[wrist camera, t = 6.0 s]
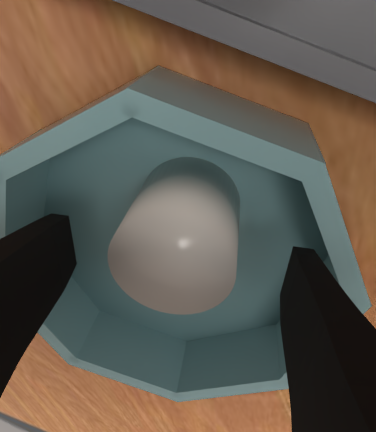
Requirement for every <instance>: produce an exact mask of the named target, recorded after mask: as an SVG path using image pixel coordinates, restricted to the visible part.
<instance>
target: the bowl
mask: <svg viewBox="0 0 376 432" xmlns="http://www.w3.org/2000/svg"><path fill="white" fill-rule="evenodd" d="M179 157H195V158H200V159H204V160H207V161H209V162H211V163H214V164H215V165H217V166H219V167H220V168H221V169H223V170H224V171H225V172H226V173H227V174H228V175H229V176H230V177H231V179H232V180H233V181H234V183H235V185H236V187H237V189H238V192H239V196H240V219H239V237H238V254H237V271H236V280H235V284H234V287H233V289H232V291H231V292H230V294H229V295H228V297H227V298H226V299H225V300H224V301H222V302H221V303H220V304H219V305H217V306H215V307H214V308H212V309H209V310H207V311H204V312H200V313H195V314H186V315H179V314H169V313H164V312H160V311H157V310H154V309H151V308H148V307H146V306H144V305H142V304H140V303H139V302H137V301H135V300H134V299H133V298H131V297H130V296H129V295H127V294H126V293H125V292H124V291H123V290H122V289H121V288H120V286H119V285H118V284H117V282H116V281H115V279H114V278H113V276H112V274H111V271H110V268H109V264H108V248H109V245H110V242H111V240H112V238H113V236H114V234H115V233H116V231H117V229H118V227H119V226H120V224H121V222H122V220H123V219H124V217H125V215H126V213H127V212H128V210H129V208H130V207H131V205H132V203H133V201H134V200H135V198H136V196H137V194H138V193H139V191H140V189H141V187H142V186H143V184H144V182H145V181H146V179H147V177H148V176H149V174H150V173H151V172H152V171H153V170H154V169H155V168H156V167H157V166H159V165H160V164H162V163H164V162H166V161H168V160H171V159H174V158H179ZM51 213H52V214H59V215H67V216H69V220H70V226H71V232H72V238H73V243H74V249H75V255H76V261H77V265H76V267H75V269H74V271H73V274H72V276H71V278H70V280H69V282H68V284H67V286H66V288H65V290H64V292H63V293H62V295H61V296H60V298H59V300H58V301H57V303H56V304H55V306H54V307H53V309H52V310H51V312H50V314H49V315H48V317H47V318H46V320H45V321H44V323H43V324H42V326H41V327H40V329H39V330H38V333H39V334H40V335H41V336H42V337H43V338H44V339H45V340H46V341H47V343H48V344H49V345H50V346H51V347H52V348H53V349H54V350H55V351H56V352H57V353H58V354H59V355H60V356H61V357H62V358H63V359H64V360H65V361H66V362H67V363H68V364H70V365H72V366H75V367H78V368H81V369H84V370H87V371H90V372H93V373H96V374H98V375H101V376H104V377H107V378H110V379H113V380H116V381H119V382H122V383H124V384H127V385H130V386H133V387H136V388H139V389H142V390H145V391H147V392H150V393H153V394H156V395H159V396H162V397H165V398H168V399H171V400H173V401H176V402H182V401H191V400H199V399H208V398H216V397H224V396H233V395H241V394H250V393H258V392H266V391H275V390H283V389H289V387H288V379H287V372H286V365H285V357H284V350H283V343H282V335H281V327H280V292H281V289H282V285H283V281H284V278H285V274H286V270H287V267H288V263H289V259H290V256H291V252H292V248H293V246H295V247H302V248H310V249H314V250H315V251H316V253H317V254H318V256H319V257H320V258H321V260H322V261H323V263H324V264H325V265H326V267H327V268H328V270H329V271H330V272H331V274H332V275H333V277H334V278H335V279H336V281H337V282H338V283H339V285H340V286H341V287H342V289H343V290H344V291H345V293H346V294H347V295H348V297H349V298H350V299H351V300H352V302H353V303H354V304H355V305H356V307H357V308H358V309H359V310H360V312H361V313H362V314H364V313H365V312H366V311H367V310H368V309H369V308H370V307H371V306H372V305H371V302H370V300H369V297H368V294H367V291H366V288H365V285H364V282H363V279H362V276H361V273H360V270H359V266H358V263H357V260H356V257H355V254H354V251H353V248H352V245H351V242H350V239H349V236H348V233H347V230H346V226H345V223H344V220H343V217H342V214H341V211H340V208H339V205H338V202H337V199H336V196H335V193H334V189H333V186H332V183H331V180H330V177H329V174H328V171H327V168H326V163H325V160H324V158H323V156H322V153H321V151H320V149H319V146H318V144H317V142H316V139H315V137H314V135H313V132H312V130H311V128H310V125H309V123H306V122H304V121H301V120H298V119H296V118H293V117H291V116H288V115H285V114H283V113H280V112H278V111H275V110H273V109H270V108H267V107H265V106H262V105H260V104H257V103H254V102H252V101H249V100H247V99H244V98H241V97H239V96H236V95H234V94H231V93H228V92H226V91H223V90H221V89H218V88H215V87H213V86H210V85H208V84H205V83H202V82H200V81H197V80H195V79H192V78H189V77H187V76H184V75H182V74H179V73H176V72H174V71H171V70H169V69H166V68H163V67H161V66H160V65H159V66H157V67H155V68H154V69H152V70H150V71H148V72H146V73H145V74H143V75H141V76H139V77H137V78H135V79H134V80H132V81H130V82H128V83H126V84H124V85H123V86H121V87H119V88H117V89H115V90H113V91H112V92H110V93H108V94H106V95H104V96H102V97H101V98H99V99H97V100H95V101H93V102H91V103H90V104H88V105H86V106H84V107H82V108H80V109H79V110H77V111H75V112H73V113H71V114H69V115H68V116H66V117H64V118H62V119H60V120H58V121H57V122H55V123H53V124H51V125H49V126H47V127H46V128H44V129H41V130H39V131H38V132H36V133H35V134H33V135H31V136H30V137H28V138H26V139H25V140H23V141H22V142H20V143H18V144H17V145H15V146H13V147H12V148H10V149H9V150H7V151H5V152H4V153H2V154H1V155H0V239H1V238H3V237H5V236H7V235H9V234H11V233H13V232H15V231H17V230H18V229H20V228H22V227H24V226H26V225H28V224H30V223H32V222H34V221H36V220H38V219H40V218H42V217H44V216H47V215H49V214H51Z"/></svg>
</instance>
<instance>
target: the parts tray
mask: <svg viewBox="0 0 376 432" xmlns="http://www.w3.org/2000/svg"><path fill="white" fill-rule="evenodd" d="M113 1H116V2H118V3H121V4H123V5H126V6H129V7H131V8H134V9H136V10H139V11H141V12H144V13H146V14H149V15H152V16H154V17H157V18H159V19H162V20H164V21H167V22H169V23H172V24H175V25H177V26H180V27H182V28H185V29H187V30H190V31H193V32H195V33H198V34H200V35H203V36H205V37H208V38H210V39H213V40H216V41H218V42H221V43H223V44H226V45H228V46H231V47H233V48H236V49H239V50H241V51H244V52H246V53H249V54H251V55H254V56H256V57H259V58H262V59H264V60H267V61H269V62H272V63H274V64H277V65H280V66H282V67H285V68H287V69H290V70H292V71H295V72H297V73H300V74H303V75H305V76H308V77H310V78H313V79H315V80H318V81H320V82H323V83H326V84H328V85H331V86H333V87H336V88H338V89H341V90H344V91H346V92H349V93H351V94H354V95H356V96H359V97H361V98H364V99H367V100H369V101H372V102H374V103H376V0H113Z"/></svg>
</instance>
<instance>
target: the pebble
mask: <svg viewBox="0 0 376 432" xmlns="http://www.w3.org/2000/svg"><path fill="white" fill-rule="evenodd" d="M239 219H240V196H239V192H238V189H237V187H236V185H235V183H234V181H233V180H232V179H231V177H230V176H229V175H228V174H227V173H226V172H225V171H224V170H223V169H221V168H220V167H219V166H217V165H215V164H214V163H211V162H209V161H207V160H204V159H200V158H195V157H179V158H174V159H171V160H168V161H166V162H164V163H162V164H160V165H159V166H157V167H156V168H155V169H154V170H153V171H152V172H151V173H150V174H149V176H148V177H147V179H146V181H145V182H144V184H143V186H142V187H141V189H140V191H139V193H138V194H137V196H136V198H135V200H134V201H133V203H132V205H131V207H130V208H129V210H128V212H127V213H126V215H125V217H124V219H123V220H122V222H121V224H120V226H119V227H118V229H117V231H116V233H115V234H114V236H113V238H112V240H111V242H110V245H109V248H108V264H109V268H110V271H111V274H112V276H113V278H114V279H115V281H116V282H117V284H118V285H119V286H120V288H121V289H122V290H123V291H124V292H125V293H126V294H127V295H129V296H130V297H131V298H133V299H134V300H135V301H137V302H139V303H140V304H142V305H144V306H146V307H148V308H151V309H154V310H157V311H160V312H164V313H169V314H179V315H186V314H195V313H200V312H204V311H207V310H209V309H212V308H214V307H215V306H217V305H219V304H220V303H221V302H222V301H224V300H225V299H226V298H227V297H228V295H229V294H230V292H231V291H232V289H233V287H234V284H235V280H236V271H237V254H238V237H239Z"/></svg>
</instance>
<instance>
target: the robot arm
mask: <svg viewBox="0 0 376 432" xmlns="http://www.w3.org/2000/svg"><path fill="white" fill-rule="evenodd" d="M76 265H77V261H76V255H75V249H74V243H73V238H72V232H71V226H70V220H69V216H67V215H59V214H52V213H51V214H49V215H47V216H44V217H42V218H40V219H38V220H36V221H34V222H32V223H30V224H28V225H26V226H24V227H22V228H20V229H18V230H17V231H15V232H13V233H11V234H9V235H7V236H5V237H3V238H1V239H0V398H1V395H2V393H3V391H4V389H5V387H6V385H7V384H8V382H9V380H10V378H11V376H12V374H13V372H14V370H15V368H16V366H17V364H18V362H19V361H20V359H21V357H22V355H23V354H24V352H25V350H26V349H27V347H28V346H29V344H30V343H31V341H32V339H33V338H34V336H35V335H36V333H37V332H38V330H39V329H40V327H41V326H42V324H43V323H44V321H45V320H46V318H47V317H48V315H49V314H50V312H51V310H52V309H53V307H54V306H55V304H56V303H57V301H58V300H59V298H60V296H61V295H62V293H63V292H64V290H65V288H66V286H67V284H68V282H69V280H70V278H71V276H72V274H73V271H74V269H75V267H76ZM280 327H281V335H282V343H283V350H284V357H285V365H286V372H287V379H288V387H289V394H290V404H291V420H292V432H376V329H375V328H374V326H373V325H372V324H371V323H370V322H369V321H368V320H367V318H366V317H365V316H364V315H363V314H362V313H361V312H360V310H359V309H358V308H357V307H356V305H355V304H354V303H353V302H352V300H351V299H350V298H349V297H348V295H347V294H346V293H345V291H344V290H343V289H342V287H341V286H340V285H339V283H338V282H337V281H336V279H335V278H334V277H333V275H332V274H331V272H330V271H329V270H328V268H327V267H326V265H325V264H324V263H323V261H322V260H321V258H320V257H319V256H318V254H317V253H316V251H315V250H314V249H310V248H302V247H295V246H293V248H292V252H291V256H290V259H289V263H288V267H287V270H286V274H285V278H284V281H283V285H282V289H281V292H280Z"/></svg>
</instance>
